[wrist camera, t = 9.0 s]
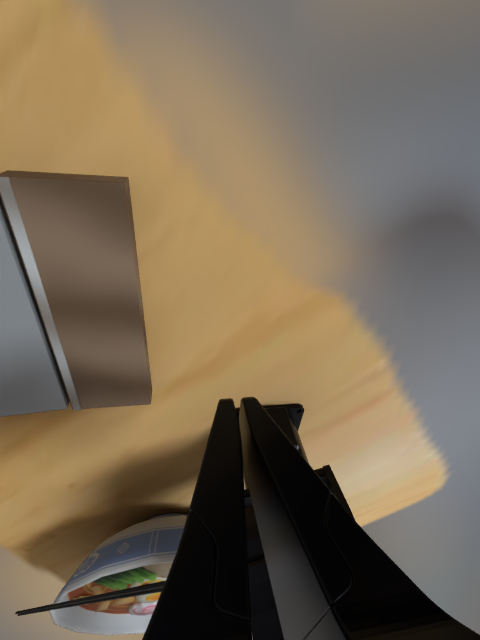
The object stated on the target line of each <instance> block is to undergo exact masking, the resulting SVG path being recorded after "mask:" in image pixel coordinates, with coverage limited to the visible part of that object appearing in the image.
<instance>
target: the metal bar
mask: <svg viewBox="0 0 480 640" xmlns="http://www.w3.org/2000/svg"><path fill="white" fill-rule="evenodd" d="M0 196H1V199H2V202H3V205H4V208H5V211H6V213H7V216H8V219H9V222H10V225H11V228H12V231H13V234H14V237H15V240H16V243H17V246H18V249H19V252H20V255H21V258H22V261H23V264H24V267H25V270H26V273H27V276H28V279H29V282H30V285H31V287H32V290H33V293H34V296H35V299H36V302H37V305H38V308H39V311H40V314H41V317H42V320H43V323H44V326H45V329H46V332H47V335H48V338H49V341H50V344H51V347H52V350H53V353H54V356H55V358H56V361H57V364H58V367H59V370H60V373H61V376H62V379H63V382H64V385H65V388H66V391H67V394H68V397H69V400H70V403H71V406H72V409H73V410H81V409H87V408H102V407H117V406H133V405H148V404H151V397H152V385H151V376H150V367H149V358H148V349H147V340H146V332H145V323H144V314H143V305H142V296H141V287H140V278H139V269H138V260H137V251H136V242H135V233H134V224H133V215H132V206H131V197H130V188H129V180H128V177H115V176H97V175H79V174H61V173H43V172H26V171H5V172H3V173H1V174H0Z"/></svg>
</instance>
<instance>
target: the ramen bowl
mask: <svg viewBox="0 0 480 640" xmlns="http://www.w3.org/2000/svg"><path fill="white" fill-rule="evenodd" d="M186 519H187V515H186V514H179V513H174V514H164V515H160V516H156V517H153V518H151V519H149V520H147V521H144V522H141V523H137V524H134V525H132V526H130V527H128V528H126V529H124V530H122V531H120V532H118V533H116V534H114V535H112V536H111V537H109V538H108V539H106V540H105V541H103V542H102V543H100V544H99V546H98V547H97V548H96V549H95V550H94V551H93V552H92V553H91V554H90V555H89V556H88V557H87V559H86V560H85V561H84V562H83V563H82V564H81V566H80V567H79V568H78V569H77V570H76V572H75V573H74V574H73V576H72V577H71V578H70V579H69V581H68V582H67V583H66V585H65V586H64V587H63V588H62V590H61V592H60V593H59V595H58V596H57V598H56V600H55V601H54V603H53V604H51V605H46V606H42V607H37V608H32V609H27V610H23V611H18V612H16V613H15V614H18V616H20V615H26V614H31V613H37V612H44V611H49V612H50V615H51V618H52V620H53V623H54V624H55V625H58V626H60V627H63V628H66V629H69V630H71V631H74V632H79V633H90V634H100V635H116V634H117V635H118V634H136V633H145V631H146V629H147V626H148V624H149V621H150V619H151V616H152V614H153V611H154V609H155V606H156V604H157V601H158V599H159V596H160V594H161V591H162V589H163V586H164V584H165V581H166V579H167V576H168V574H169V571H170V568H171V565H172V563H173V560H174V557H175V555H176V552H177V549H178V546H179V542H180V539H181V536H182V533H183V529H184V526H185V522H186Z"/></svg>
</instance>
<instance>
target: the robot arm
mask: <svg viewBox="0 0 480 640" xmlns="http://www.w3.org/2000/svg"><path fill="white" fill-rule="evenodd" d="M303 412H304V408H303V406H302V405H301V404H294V405H281V406H267V407H263V406H262V405H261V404H260V403H259V402H258V400H257V399H256V398H255V397H245V398H242V399H241V404H240V409H237V410H235V405H234V401H233V399H231V398H230V399H220V400H219V403H218V406H217V410H216V413H215V417H214V421H213V424H212V428H211V432H210V435H209V439H208V443H207V446H206V450H205V454H204V457H203V461H202V464H201V468H200V472H199V475H198V479H197V483H196V486H195V490H194V494H193V497H192V501H191V505H190V508H189V512H188V515H187V519H186V522H185V526H184V529H183V533H182V536H181V539H180V542H179V546H178V549H177V552H176V555H175V557H174V560H173V563H172V565H171V568H170V571H169V574H168V576H167V579H166V581H165V584H164V586H163V589H162V591H161V594H160V596H159V599H158V601H157V604H156V606H155V609H154V611H153V614H152V616H151V619H150V621H149V624H148V626H147V629H146V631H145V634H144V637H143V639H142V640H252V635H253V640H480V635H479V634H477V633H476V632H474V631H473V630H471V629H469V628H468V627H466V626H465V625H463V624H462V623H460V622H458V621H457V620H455V619H454V618H453V617H451V616H450V615H449V614H447V613H445V612H444V611H443V610H442V609H441V608H440V607H438V606H437V605H436V604H435V603H434V602H433V601H431V600H430V599H429V598H428V597H427V596H426V595H425V594H424V593H423V592H422V591H421V590H420V589H419V588H418V587H417V586H416V585H415V584H414V583H413V581H412V580H411V579H409V577H408V576H407V575H406V574H405V573H404V572H403V571H402V570H401V569H400V568H399V567H398V566H397V565H396V564H395V563H394V562H393V561H392V560H391V559H390V558H389V557H388V556H387V554H386V553H385V552H384V551H383V550H382V549H381V548H380V547H379V546H378V545H377V544H376V543H375V542H374V541H373V540H372V539H371V538H370V537H369V536H368V535H367V533H366V532H365V531H364V530H363V529H362V528H361V527H360V526H359V525H358V524H357V522H356V521H355V519H354V517H353V514H352V512H351V510H350V508H349V506H348V503H347V501H346V499H345V497H344V495H343V493H342V491H341V489H340V487H339V484H338V482H337V480H336V478H335V476H334V474H333V472H332V470H331V468H330V466H329V465H326V466H323V468H320V469H316V470H313V469H312V467H311V466H310V465H309V463H308V460H307V457H306V454H305V451H304V448H303V446H302V443H301V440H300V437H299V434H298V429H299V426H300V422H301V419H302V416H303ZM244 482H245V488H246V490H244Z"/></svg>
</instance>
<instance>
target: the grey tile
mask: <svg viewBox="0 0 480 640" xmlns="http://www.w3.org/2000/svg"><path fill="white" fill-rule="evenodd" d="M69 401H70V400H69V397H68V394H67V391H66V388H65V385H64V382H63V379H62V376H61V373H60V370H59V367H58V364H57V361H56V358H55V356H54V353H53V350H52V347H51V344H50V341H49V338H48V335H47V332H46V329H45V326H44V323H43V320H42V317H41V314H40V311H39V308H38V305H37V302H36V299H35V296H34V293H33V290H32V287H31V285H30V282H29V279H28V276H27V273H26V270H25V267H24V264H23V261H22V258H21V255H20V252H19V249H18V246H17V243H16V240H15V237H14V234H13V231H12V228H11V225H10V222H9V219H8V216H7V213H6V211H5V208H4V205H3V202H2V199H1V196H0V417H1V416H9V415H18V414H27V413H36V412H45V411H53V410H62V409H67V408H68V404H69Z"/></svg>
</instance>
